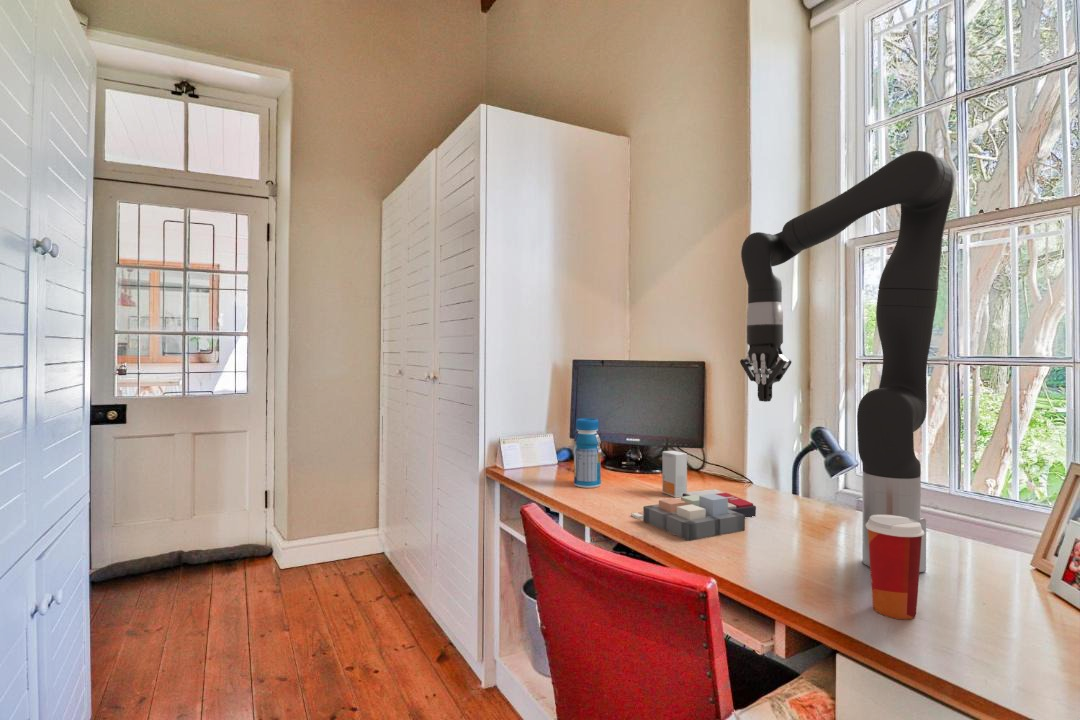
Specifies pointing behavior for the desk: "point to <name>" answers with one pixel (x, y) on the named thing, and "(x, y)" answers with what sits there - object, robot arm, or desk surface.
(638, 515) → the strip
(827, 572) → the desk surface
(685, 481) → the skincare box
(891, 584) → the paper cup
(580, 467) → the beverage bottle
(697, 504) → the sage key
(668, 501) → the terracotta key
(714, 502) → the slate key
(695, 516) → the cream key
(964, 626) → the desk surface
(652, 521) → the keypad base
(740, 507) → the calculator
